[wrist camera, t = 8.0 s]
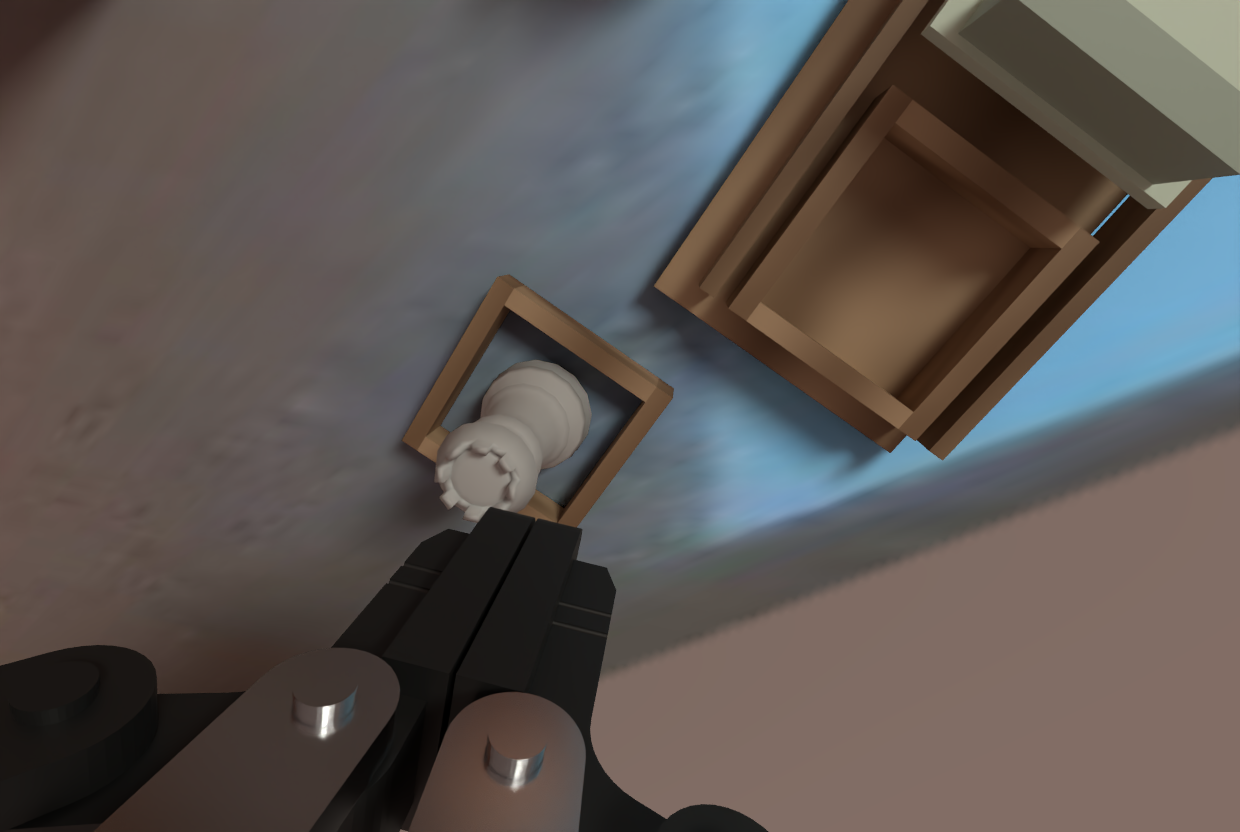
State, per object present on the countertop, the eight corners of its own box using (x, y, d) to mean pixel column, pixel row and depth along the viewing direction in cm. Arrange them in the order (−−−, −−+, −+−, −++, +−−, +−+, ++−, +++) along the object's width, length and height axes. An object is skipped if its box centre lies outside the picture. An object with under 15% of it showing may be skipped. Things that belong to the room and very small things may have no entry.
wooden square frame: (417, 429, 26) (401, 440, 25) (509, 274, 24) (497, 276, 22) (569, 529, 26) (562, 546, 25) (673, 388, 24) (672, 398, 23)
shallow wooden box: (655, 283, 23) (650, 289, 20) (1056, -305, 17) (1129, -414, 14) (894, 452, 24) (922, 481, 21) (1358, -53, 18) (1485, -108, 15)
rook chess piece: (571, 475, 26) (520, 574, 18) (476, 434, 26) (385, 516, 18) (609, 383, 24) (572, 449, 17) (509, 340, 24) (426, 386, 17)
